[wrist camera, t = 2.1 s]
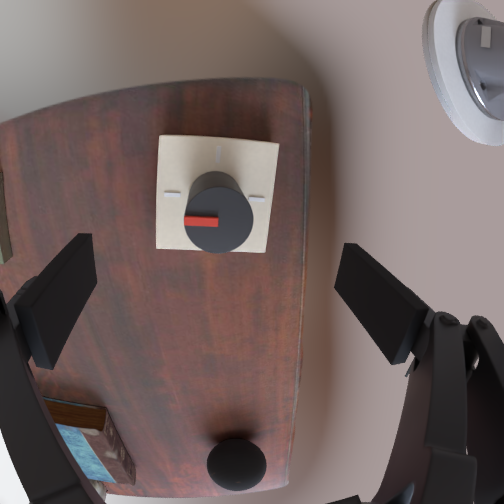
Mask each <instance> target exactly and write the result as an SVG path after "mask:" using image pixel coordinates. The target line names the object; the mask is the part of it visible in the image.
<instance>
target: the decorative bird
mask: <svg viewBox="0 0 504 504" xmlns="http://www.w3.org/2000/svg"><path fill="white" fill-rule="evenodd" d="M88 480H89V481H90V482H91V484H92V485H93V487H94V488H95V489H96V491H97V492H98V494H99V495H100V496H101V498H102V499H103V500H104V501H105V498H106V492H107V491H108V490H107V491H106V488H105V486H104V484H103V483H102V482H101V481H99V480H93V479H88Z"/></svg>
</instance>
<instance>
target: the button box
mask: <svg viewBox="0 0 504 504" xmlns="http://www.w3.org/2000/svg"><path fill="white" fill-rule="evenodd" d="M11 257H12V251H11V245H10V239H9V233H8V226H7V219H6V211H5V201H4V189H3V172H0V264H4V263H6V262H7V261H8V260H9V259H10V258H11Z"/></svg>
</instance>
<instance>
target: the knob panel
mask: <svg viewBox="0 0 504 504" xmlns="http://www.w3.org/2000/svg"><path fill="white" fill-rule="evenodd" d="M278 150H279V144H278V143H273V142H266V141H257V140H248V139H237V138H225V137H211V136H193V135H160V136H159V149H158V167H157V193H156V248H160V249H185V250H202V249H200V248H198V247H197V246H195V245H194V244H193V243H192V242H191V240H190V239H189V238H188V236H187V234H186V231H185V228H184V213H185V209H186V204H187V200H188V195H189V191H190V188H191V185H192V184H193V182H194V181H195V180H196V179H197V178H198V177H199V176H200V175H202V174H204V173H206V172H210V171H220V172H224V173H226V174H228V175H230V176H231V177H233V179H234V180H235V181H236V182H237V184H238V185H239V187H240V189H241V190H242V192H243V194H244V195H245V197H246V199H247V200H248V202H249V204H250V206H251V208H252V211H253V218H254V220H253V227H252V231H251V233H250V235H249V237H248V238H247V240H246V241H245V242H244V243H243V244H242V245H241V246H239V247H238V248H236V249H234V250H232V251H235V252H260V253H265V250H266V243H267V235H268V228H269V220H270V213H271V205H272V197H273V190H274V182H275V174H276V166H277V158H278Z"/></svg>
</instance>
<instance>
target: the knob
mask: <svg viewBox="0 0 504 504" xmlns="http://www.w3.org/2000/svg"><path fill="white" fill-rule="evenodd" d="M253 220H254V218H253V211H252V208H251V206H250V204H249V202H248V200H247V199H246V197H245V195H244V194H243V192H242V190H241V189H240V187H239V185H238V184H237V182H236V181H235V180H234V179H233V177H231V176H230V175H228V174H226V173H224V172H220V171H210V172H206V173H204V174H202V175H200V176H199V177H198V178H197V179H196V180H195V181H194V182H193V184H192V185H191V188H190V191H189V195H188V200H187V204H186V209H185V213H184V228H185V231H186V234H187V236H188V238H189V239H190V240H191V242H192V243H193V244H194V245H195V246H197V247H198V248H200V249H202V250H204V251H206V252H210V253H226V252H230V251H232V250H234V249H236V248H238V247H239V246H241V245H242V244H243V243H244V242H245V241H246V240H247V238H248V237H249V235H250V233H251V231H252V227H253Z"/></svg>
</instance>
